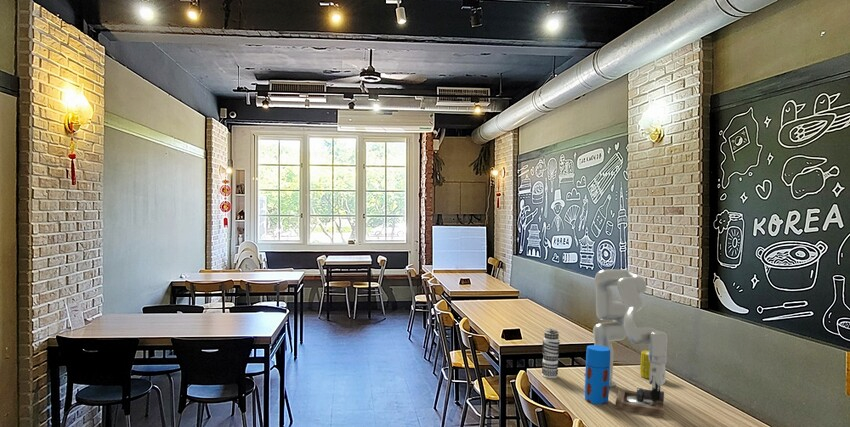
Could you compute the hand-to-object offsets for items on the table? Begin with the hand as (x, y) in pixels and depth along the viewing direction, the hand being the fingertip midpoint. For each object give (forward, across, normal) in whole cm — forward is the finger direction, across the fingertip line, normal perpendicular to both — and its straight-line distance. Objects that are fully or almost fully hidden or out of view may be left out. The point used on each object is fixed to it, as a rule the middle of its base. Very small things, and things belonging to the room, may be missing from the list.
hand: (655, 398), depth 246 cm
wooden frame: (+5, 0, +7) cm, 9 cm away
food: (+5, +49, +16) cm, 52 cm away
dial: (+4, +1, +5) cm, 6 cm away
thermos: (+5, -7, +25) cm, 26 cm away
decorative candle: (+5, +13, +57) cm, 59 cm away
